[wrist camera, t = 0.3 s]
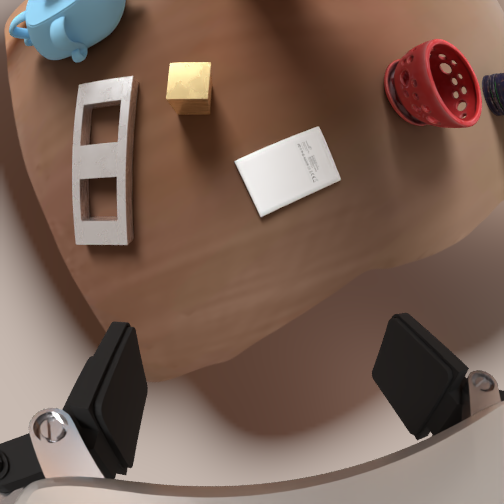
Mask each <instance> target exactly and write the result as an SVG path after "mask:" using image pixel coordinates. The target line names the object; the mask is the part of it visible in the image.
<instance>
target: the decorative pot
mask: <svg viewBox="0 0 504 504" xmlns="http://www.w3.org/2000/svg"><path fill="white" fill-rule="evenodd" d="M125 3H126V0H29V1H28V4H27V7H26V11H24V12H22V13H20V14H19V15H18V16H16V17H15V18H14V19H13V21H12V22H11V25H10V28H9V33H10V35H11V36H13V37H15V38H21V39H25V40H24V42H25V44H26V45H27V46H32V45H34V47H35V48H36V49H37V51H38V52H39V53H40V54H41V55H42V56H44V57H45V58H47V59H49V60H60V59H64V58H67V57H70V56H72V59H73V61H74V62H81V61H83V60H84V59H85V58H86V56H87V48H89V47H91V46H93V45H95V44H96V43H98V42H100V41H101V40H103V39H104V38H106V37H107V36H108V35H110V34H111V33H112V32H113V30H114V29H115V28H116V27H117V25H118V23H119V22H120V19H121V17H122V15H123V11H124V8H125ZM25 20H26V25H27V29H24V28H19V27H16V26H17V25H18V24H20V23H21V22H23V21H25Z"/></svg>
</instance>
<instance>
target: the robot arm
mask: <svg viewBox="0 0 504 504" xmlns="http://www.w3.org/2000/svg"><path fill="white" fill-rule="evenodd" d="M468 369H469V368H468V367H467V366H466V365H465V364H464V363H463V362H462V361H461V360H460V359H458V358H457V357H456V356H455V355H454V354H453V353H452V352H451V351H450V350H449V349H448V348H446V347H445V346H444V345H443V344H442V343H441V342H440V341H439V340H438V339H437V338H436V337H434V336H433V335H432V334H431V333H430V332H429V331H428V330H426V329H425V328H424V327H423V326H422V325H421V324H420V323H419V322H417V321H416V320H415V319H414V318H413V317H412V316H410V315H409V314H408V313H402V314H395V315H394V316H392V318H391V319H390V320H389V322H388V325H387V329H386V332H385V335H384V338H383V342H382V345H381V348H380V351H379V354H378V356H377V359H376V362H375V365H374V368H373V371H372V377H373V379H374V381H375V382H376V383H377V385H378V387H379V388H380V390H381V391H382V392H383V394H384V395H385V397H386V398H387V400H388V401H389V403H390V404H391V406H392V407H393V408H394V410H395V412H396V413H397V414H398V416H399V417H400V419H401V420H402V422H403V423H404V425H405V426H406V428H407V429H408V431H409V432H410V433H411V434H413V435H414V436H415V437H416V439H417V440H419V439H421V438H424V437H426V436H428V434H429V433H430V431H431V433H432V434H433V435H432V437H430V438H428V439H426V440H424V441H421V442H419V443H417V444H415V445H412V446H410V447H408V448H405V449H402V450H400V451H397V452H395V453H392V454H389V455H387V456H384V457H381V458H378V459H375V460H372V461H369V462H366V463H363V464H360V465H356V466H353V467H349V468H345V469H342V470H338V471H334V472H329V473H326V474H321V475H316V476H311V477H306V478H300V479H294V480H288V481H281V482H274V483H265V484H254V485H241V486H174V485H161V484H151V483H142V482H132V481H124V480H116V479H115V476H116V473H117V474H122V475H126V473H127V467H128V468H132V466H133V462H134V456H135V450H136V445H137V440H138V435H139V430H140V425H141V419H142V415H143V410H144V406H145V401H146V397H147V382H146V378H145V373H144V369H143V365H142V360H141V355H140V350H139V345H138V340H137V335H136V330H135V328H134V327H131V326H130V324H129V323H127V322H112V323H111V325H110V327H109V329H108V330H107V332H106V334H105V336H104V338H103V339H102V341H101V343H100V345H99V347H98V349H97V350H96V352H95V354H94V356H92V357H90V358H89V359H88V361H87V362H86V364H85V366H84V368H83V370H82V372H81V374H80V376H79V377H78V379H77V381H76V383H75V385H74V387H73V389H72V391H71V393H70V396H69V397H68V399H67V401H66V403H65V406H64V408H63V410H60V409H58V408H48V409H43V410H41V411H39V412H38V413H36V414H35V415H34V416H33V417H32V419H31V421H30V424H29V434H26V435H24V436H21V437H18V438H15V439H12V440H10V441H7V442H4V443H1V444H0V504H504V391H502V390H499V389H498V384H497V382H496V380H495V379H494V377H493V376H491V375H490V374H488V373H486V372H484V371H478V370H477V371H473V372H471V373H470V374H469V376H468V378H466V377H465V374H466V373H467V370H468Z"/></svg>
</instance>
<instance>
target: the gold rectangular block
mask: <svg viewBox="0 0 504 504" xmlns="http://www.w3.org/2000/svg"><path fill="white" fill-rule="evenodd" d="M211 92H212V74H211V62H187V63H170V69H169V77H168V86H167V96H166V100H167V101H168V102H169V104H170V105H171V106H172V108H173V109H174V110H175V112H176V113H177V114H178V115H210V105H211Z"/></svg>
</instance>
